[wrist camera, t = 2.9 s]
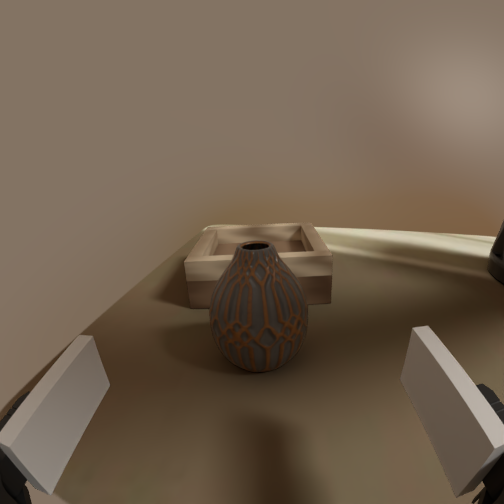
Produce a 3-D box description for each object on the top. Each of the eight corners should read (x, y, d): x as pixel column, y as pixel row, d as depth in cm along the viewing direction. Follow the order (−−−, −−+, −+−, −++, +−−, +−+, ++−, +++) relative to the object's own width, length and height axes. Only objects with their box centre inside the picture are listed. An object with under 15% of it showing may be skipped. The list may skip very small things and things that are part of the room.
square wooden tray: (310, 257, 44) (310, 222, 42) (330, 302, 30) (332, 255, 29) (211, 261, 44) (207, 227, 43) (190, 308, 31) (183, 261, 29)
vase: (199, 352, 24) (183, 246, 21) (266, 323, 28) (262, 227, 25) (252, 400, 18) (242, 273, 16) (325, 356, 22) (331, 244, 20)
